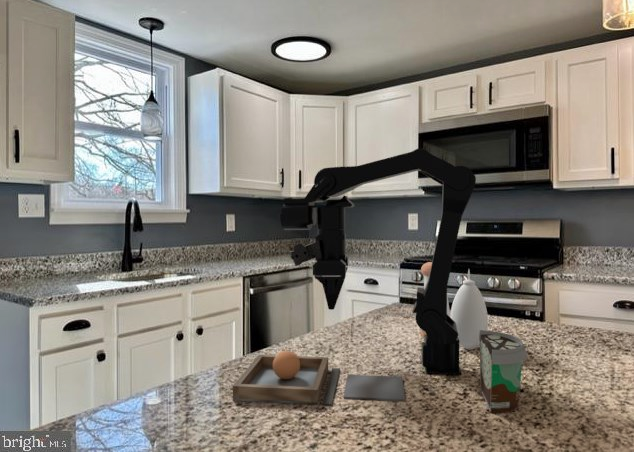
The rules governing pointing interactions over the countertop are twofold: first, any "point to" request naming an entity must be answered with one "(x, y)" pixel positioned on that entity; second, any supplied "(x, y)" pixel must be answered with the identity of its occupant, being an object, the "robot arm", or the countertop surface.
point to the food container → (500, 370)
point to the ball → (286, 365)
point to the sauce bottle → (469, 314)
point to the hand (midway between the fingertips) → (332, 304)
